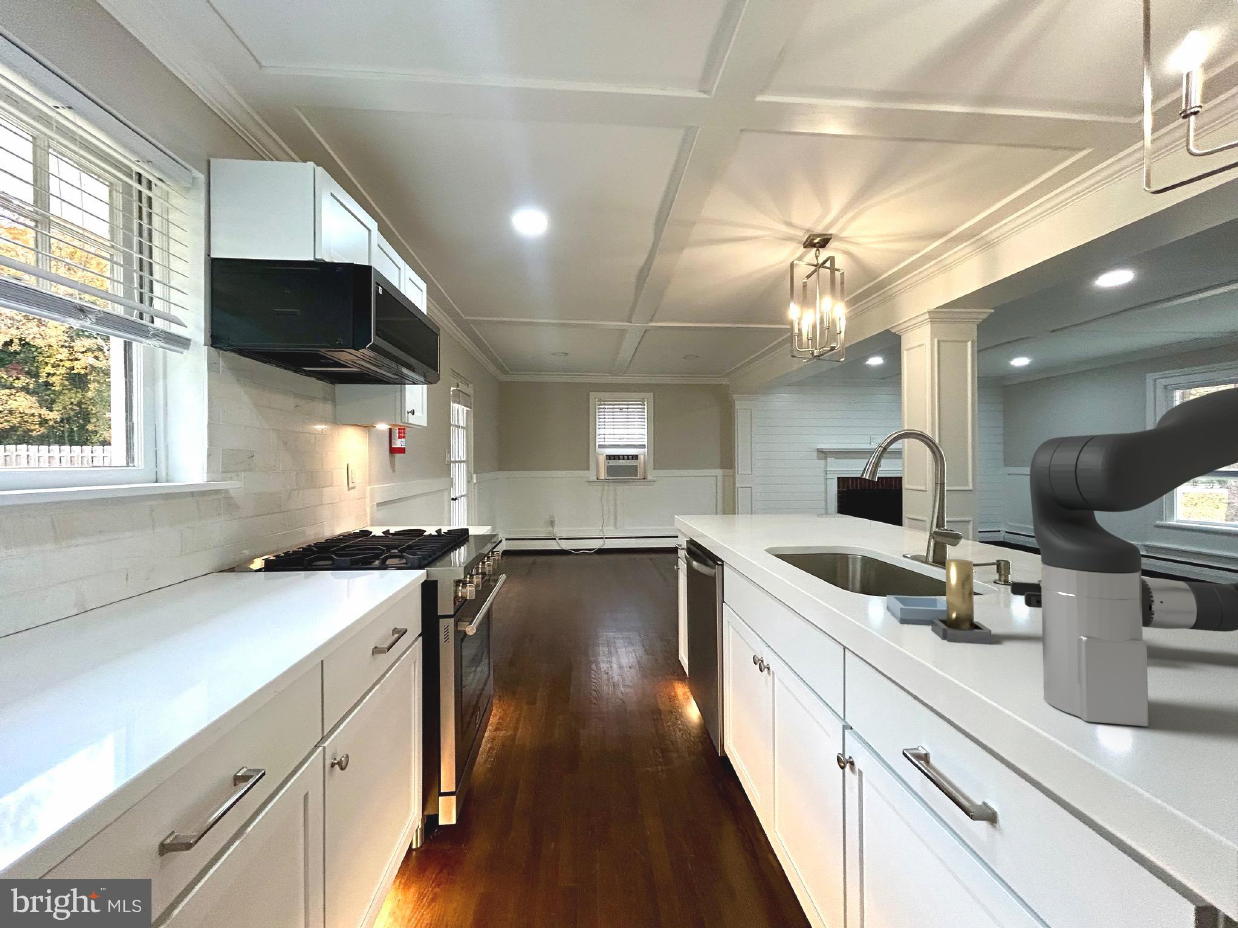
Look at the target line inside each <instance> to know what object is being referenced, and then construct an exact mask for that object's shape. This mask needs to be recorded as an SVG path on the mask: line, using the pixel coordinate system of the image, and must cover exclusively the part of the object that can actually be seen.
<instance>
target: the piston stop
mask: <svg viewBox="0 0 1238 928" xmlns="http://www.w3.org/2000/svg"><path fill="white" fill-rule="evenodd" d="M945 595H946V596H945V598H946V599H945V601H946V611H947V627H948V628H955V629H974V621H975V609H974V607H975V605H974V603H975V601H974V596H975V594H974V561H972V560H969V559H960V558H952V559H951V558H948V559H945Z"/></svg>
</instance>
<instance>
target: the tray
mask: <svg viewBox="0 0 1238 928" xmlns="http://www.w3.org/2000/svg"><path fill="white" fill-rule="evenodd" d="M887 610H888V611H887ZM886 611H887V612H888V613H889V612H890V613H891V614H890V613H889V614H890V615H891V616H892V617H893V618H894V619H895V620H896V622H898V623H899V624H900V625H919V626H921V625H922V626H931V619H933V618H947V611H946V599H944V598H942V597H937V596H935V597H934V596H917V595H916V596H915V595H914V596H911V595H910V596H909V595H892V594H891V595H888V594H887V595H886Z"/></svg>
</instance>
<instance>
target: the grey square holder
mask: <svg viewBox="0 0 1238 928" xmlns="http://www.w3.org/2000/svg"><path fill="white" fill-rule="evenodd" d="M930 626H931V631H932V633H934V634H935V635H936V636H937V637H939V639H941V640H944V641H946V642H948V643H951V642H952V643H963V644H964V643H966V644H968V643H969V644H980V645H982V644H983V645H991V644H992V629H990V628H988V627H987V626H986V625H984V624H983V623H981V622H979V620H978V621H977V620H974V629H955V628H948V627H947V618H933V619H931V625H930Z"/></svg>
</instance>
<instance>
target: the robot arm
mask: <svg viewBox="0 0 1238 928" xmlns="http://www.w3.org/2000/svg"><path fill="white" fill-rule="evenodd" d="M1032 456H1033V457H1032V459H1031V463H1030V467H1029V468H1030V469H1029V491H1030V502H1031V512H1032V513H1031V514H1032V526H1033V535H1034V538H1035V542H1036V544H1037V547H1038V548H1039V551H1040V561H1041V565H1040V566H1041V567H1040V568H1041V569H1040V570H1041V571H1040V572H1041V577H1040V578H1041V579H1039V580H1037V582H1022V581H1011V583H1010V585H1009V586H1010V594H1012V595H1013V596H1021V597H1024V605H1025V606H1026V607H1029V608H1034V609H1035V608H1036V609H1038V608H1039V609H1041V623H1042V624H1041V626H1042V627H1041V632H1042V633H1041V634H1042V640H1041V641H1042V667H1043V669H1042V671H1043V672H1042V673H1043V674H1042V676H1043V677H1042V678H1043V700H1045V702H1047V703H1048V704H1049V705H1050V706H1052V707H1054V708H1055V709H1058V710H1059V711H1063V712H1065V713H1067V714H1070V715H1072V716H1076V717H1078V718H1080V719H1082V720H1083V721H1085V722H1090V723H1101V724H1102V723H1104V724H1113V725H1114V724H1116V725H1126V726H1127V725H1128V726H1139V727H1149V693H1148V692H1149V690H1148V689H1149V688H1148V683H1149V682H1148V646H1147V644H1146V642H1145V641H1144V640H1143V634H1144V633H1143V628H1151V629H1161V630H1162V629H1163V630H1164V629H1165V630H1183V629H1184V630H1196V631H1206V632H1207V631H1209V632H1210V631H1211V632H1226V633H1227V632H1235V631H1238V582H1234V583H1233V582H1232V583H1224V584H1223V583H1221V584H1220V583H1213V582H1212V583H1210V582H1198V581H1197V582H1196V581H1181V580H1179V581H1178V580H1173V579H1172V580H1171V579H1168V578H1167V579H1165V578H1157V577H1156V578H1155V577H1142V554H1141V551H1140V550H1141V549H1139V548H1138V546H1136V545H1135V544H1134V543H1132V542H1129V541H1127V540H1126V539H1122V538H1120V537H1118V536H1116V535H1114V534H1112V533H1111V532H1109V531H1107V529H1105V528H1104V527H1103V526H1102V525H1101V524H1100V523H1098V520H1097V519H1096V515H1095V512H1106V513H1121V512H1130V511H1134V510H1137V509H1140V508H1144V507H1145V506H1147V505H1149V504H1152V503H1153V502H1155V501H1156V500H1158V499H1161V498H1162V497H1163V496H1166V495H1167V494H1169V493H1171V492H1172V491H1174V490H1175V489H1177V488H1179V487H1180V486H1183V485H1184V484H1186V483H1188V482H1190V481H1191V480H1194V479H1196V478H1199V477H1202V476H1205V475H1207V474H1211V473H1213V472H1215V471H1218V470H1220V469H1222V468H1226V467H1229V466H1232V465H1235V464H1237V463H1238V386H1237V387H1231V388H1225V389H1221V390H1216V391H1212V392H1209V393H1205V394H1203V395H1201V396H1197V397H1194V398H1191V399H1189V400H1186V401H1183V402H1180V403H1178V404H1177V405H1175V406H1173V407H1172V408H1169V409H1168V410H1167V411H1166V412H1165V413H1164V414H1163V415H1161V417H1160V418H1159V420H1158V421H1157V423H1156V426H1155V427H1154V428H1151V429H1147V430H1140V431H1135V432H1125V433H1105V434H1087V435H1073V436H1072V435H1071V436H1070V435H1069V436H1059V437H1058V436H1057V437H1053V438H1049V439H1047V440H1045V441H1044V442H1042V443H1041V444H1039V446H1038V447H1037V448H1036V450H1035V452H1034V454H1033V455H1032Z"/></svg>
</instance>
